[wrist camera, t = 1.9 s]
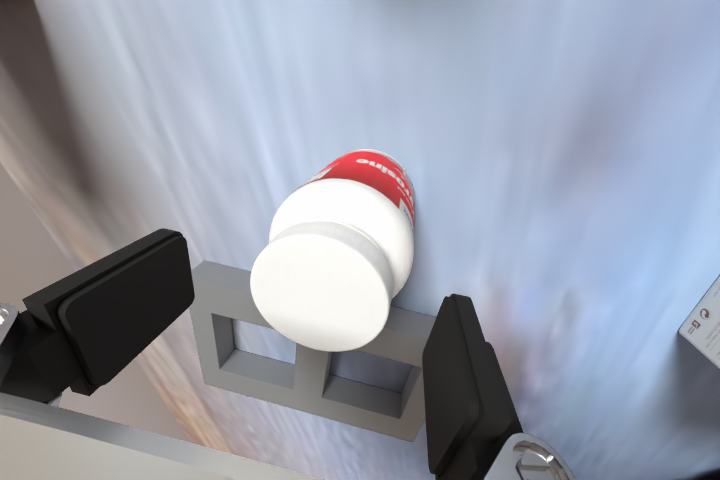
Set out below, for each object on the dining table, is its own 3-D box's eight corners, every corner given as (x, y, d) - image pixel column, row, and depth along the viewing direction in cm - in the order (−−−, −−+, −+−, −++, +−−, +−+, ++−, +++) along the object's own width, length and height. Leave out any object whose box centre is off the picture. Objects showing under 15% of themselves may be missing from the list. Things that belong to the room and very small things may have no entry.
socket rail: (456, 322, 22) (461, 347, 20) (412, 416, 29) (412, 442, 27) (204, 260, 24) (183, 277, 21) (219, 363, 30) (204, 383, 28)
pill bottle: (432, 205, 18) (454, 332, 8) (360, 249, 20) (313, 385, 11) (376, 125, 16) (322, 166, 7) (305, 183, 19) (191, 274, 9)
